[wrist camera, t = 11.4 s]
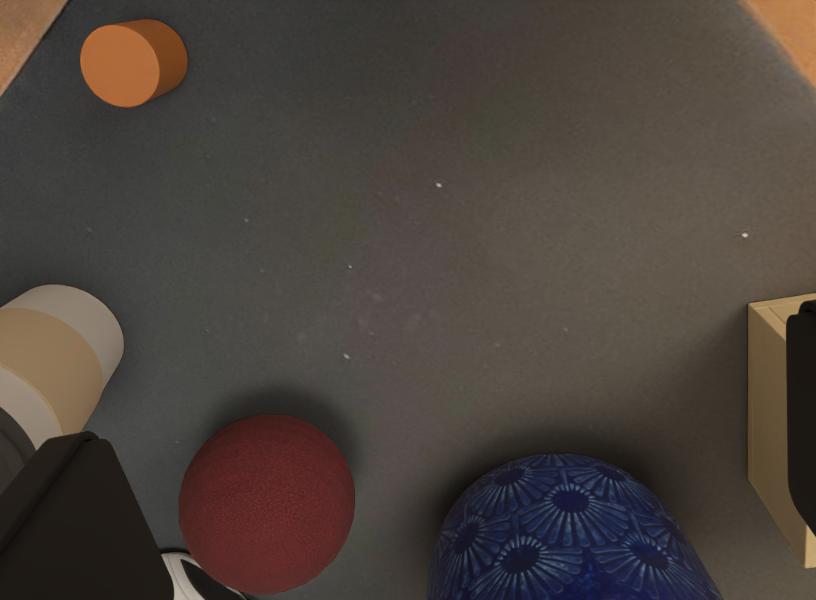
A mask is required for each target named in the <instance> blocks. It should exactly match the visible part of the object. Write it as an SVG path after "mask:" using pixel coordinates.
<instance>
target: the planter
mask: <svg viewBox="0 0 816 600" xmlns="http://www.w3.org/2000/svg"><path fill="white" fill-rule="evenodd" d="M426 600H724V599H723V597H722V596H721V594H720V592H719V591H718V589H717V587H716V586H715V584H714V582H713V580H712V579H711V577H710V575H709V574H708V572H707V570H706V568H705V567H704V565H703V563H702V562H701V560H700V558H699V556H698V555H697V553H696V551H695V550H694V548H693V546H692V544H691V543H690V541H689V539H688V538H687V536H686V534H685V533H684V531H683V529H682V528H681V526H680V525H679V523H678V522H677V520H676V519H675V517H674V516H673V514H672V513H671V512H670V511H669V510H668V508H667V507H666V506H665V505H664V504H663V503H662V501H661V500H660V499H659V498H658V497H657V496H656V495H655V494H654V493H653V492H652V491H650V490H649V489H648V488H647V487H646V486H645V485H644V484H642V483H641V482H640V481H638V480H637V479H635V478H634V477H633V476H631V475H630V474H628V473H627V472H625V471H623V470H621V469H619V468H618V467H616V466H614V465H611V464H609V463H607V462H604V461H602V460H599V459H595V458H592V457H588V456H583V455H577V454H569V453H547V454H538V455H532V456H527V457H523V458H519V459H516V460H513V461H510V462H508V463H505V464H503V465H501V466H498V467H497V468H495V469H493V470H491V471H489V472H488V473H486V474H485V475H483V476H481V477H480V478H479V479H478V480H476V481H475V482H474V483H473V484H471V485H470V486H469V487H468V488H467V489H466V490H465V491H464V493H463V494H462V495H461V496H460V497H459V499H458V500H457V501H456V502H455V503H454V505H453V507H452V508H451V510H450V511H449V513H448V515H447V516H446V518H445V520H444V522H443V524H442V526H441V528H440V531H439V533H438V536H437V539H436V542H435V545H434V548H433V552H432V557H431V562H430V568H429V575H428V586H427V598H426Z"/></svg>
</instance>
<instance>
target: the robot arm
mask: <svg viewBox="0 0 816 600" xmlns="http://www.w3.org/2000/svg"><path fill="white" fill-rule="evenodd" d="M786 382H787V462H788V487H789V492H790V495H791V498H792V501H793V503H794V506H795V508H796V509H797V511H798V513H799V514H800V515H801V517H802V518H803V520H804V521H805V523H806V524H807V525H808V527H809V528H810V530H811V531H812V533H813V534H814V535H815V537H816V299H814V300H809V301H804V302H803V303H802V304H801V305H800V308H799V311H798V314H794V315H790V316H789V317H788V319H787V322H786ZM0 600H174V585H173V581H172V578H171V575H170V573H169V571H168V569H167V567H166V564H165V562H164V560H163V558H162V555H161V553H160V551H159V549H158V547H157V544H156V542H155V540H154V538H153V535H152V533H151V531H150V529H149V527H148V524H147V522H146V520H145V518H144V516H143V513H142V511H141V509H140V507H139V504H138V502H137V500H136V498H135V496H134V493H133V491H132V489H131V487H130V485H129V482H128V480H127V478H126V476H125V473H124V471H123V469H122V467H121V465H120V462H119V460H118V458H117V456H116V453H115V451H114V449H113V447H112V445H111V444H110V443H109V442H108V441H107V440H105V439H99V437H98V436H97V435H95V434H94V433H93V432H90V431H86V432H80V433H75V434H69V435H64V436H58V437H53V438H49V439H47V440H46V441H45V442H44V443H43V444H42V445H41V446H40V447H39V449H38V450H37V451H36V452H35V453H34V455H33V456H32V457H31V458H30V460H29V461H28V462H27V463H26V465H25V466H24V467H23V468H22V469H21V471H20V472H19V473H18V474H17V476H16V477H15V478H14V479H13V481H12V482H11V483H10V484H9V485H8V487H7V488H6V489H5V490H4V492H3V493H2V494H1V495H0Z"/></svg>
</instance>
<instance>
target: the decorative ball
mask: <svg viewBox="0 0 816 600" xmlns="http://www.w3.org/2000/svg"><path fill="white" fill-rule="evenodd" d="M354 509H355V490H354V483H353V478H352V475H351V472H350V469H349V467H348V464H347V462H346V459H345V457H344V456H343V454H342V453H341V451H340V450H339V448H338V447H337V445H336V444H335V443H334V442H333V441H332V440H331V439H330V438H329V437H328V436H327V435H326V434H325V433H324V432H323V431H321V430H320V429H318V428H317V427H315V426H314V425H312V424H310V423H308V422H306V421H304V420H301V419H299V418H295V417H291V416H288V415H279V414H263V415H256V416H252V417H248V418H244V419H241V420H238V421H236V422H234V423H232V424H229V425H227V426H226V427H224V428H223V429H221V430H220V431H219V432H217V433H216V434H215V435H213V436H212V437H211V438H210V439H208V440H207V441H206V442H205V444H204V445H203V446H202V447H201V448H200V449H199V450H198V452H197V453H196V455H195V456H194V458H193V459H192V461H191V463H190V465H189V467H188V468H187V470H186V472H185V475H184V479H183V482H182V485H181V490H180V494H179V524H180V528H181V532H182V535H183V538H184V541H185V544H186V546H187V548H188V550H189V552H190V554H191V556H192V557H193V558H194V560H195V561H196V562H197V563H198V564H199V566H200V567H201V568H202V569H203V570H204V571H205V572H206V573H207V574H208V575H209V576H210V577H212V578H213V579H214V580H216V581H217V582H219V583H221V584H222V585H224V586H226V587H229V588H231V589H234V590H236V591H240V592H244V593H249V594H260V595H263V594H275V593H280V592H285V591H288V590H290V589H293V588H295V587H298V586H301V585H303V584H305V583H307V582H308V581H310V580H312V579H313V578H315V577H316V576H317V575H318V574H319V573H321V572H322V571H323V570H324V569H325V568H326V567H327V566H328V565H329V564H330V563H331V562H332V561H333V560H334V558H335V557H336V555H337V554H338V552H339V551H340V549H341V548H342V546H343V545H344V543H345V541H346V539H347V536H348V534H349V531H350V528H351V525H352V521H353V517H354Z"/></svg>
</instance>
